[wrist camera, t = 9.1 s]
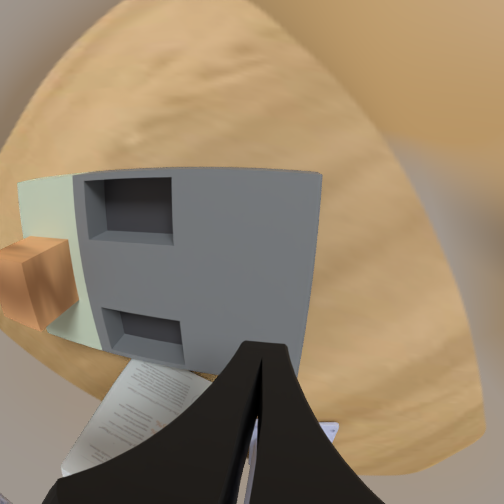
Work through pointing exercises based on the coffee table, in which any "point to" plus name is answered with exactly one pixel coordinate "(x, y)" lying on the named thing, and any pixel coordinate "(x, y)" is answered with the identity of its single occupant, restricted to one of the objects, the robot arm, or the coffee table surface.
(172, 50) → the coffee table surface
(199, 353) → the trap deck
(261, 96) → the coffee table surface
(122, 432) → the small box
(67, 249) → the orange block
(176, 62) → the coffee table surface
